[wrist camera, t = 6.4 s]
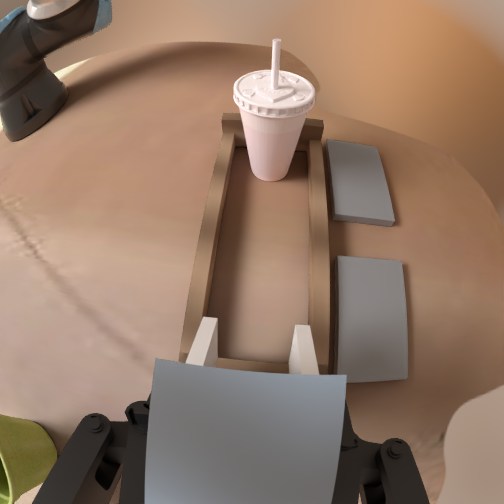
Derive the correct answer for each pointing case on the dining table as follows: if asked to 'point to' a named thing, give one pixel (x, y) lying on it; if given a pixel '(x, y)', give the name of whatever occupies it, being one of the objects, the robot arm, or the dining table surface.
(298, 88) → the smoothie
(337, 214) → the broken strip
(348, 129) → the dining table surface
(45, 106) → the robot arm
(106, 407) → the dining table surface
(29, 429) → the plant pot
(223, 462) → the sled
